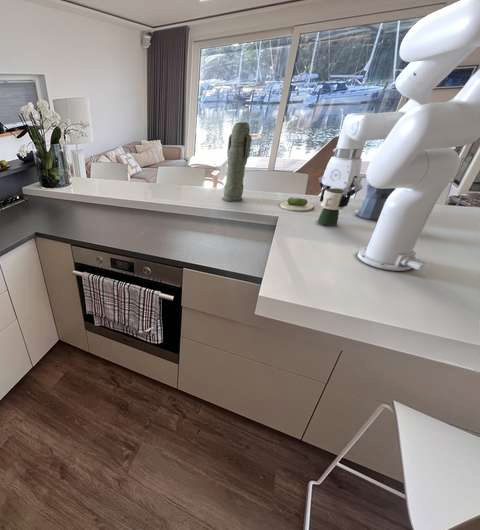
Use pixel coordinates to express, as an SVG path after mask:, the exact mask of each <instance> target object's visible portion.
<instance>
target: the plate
mask: <svg viewBox="0 0 480 530" xmlns="http://www.w3.org/2000/svg"><path fill="white" fill-rule="evenodd" d="M279 207H280V208H281V209H284V210H287V211H292V212H307V211H308V212H309V211H311V210H313V209H314V205H313V204H312V203H310V202H308V201H307V204H306V205H305V206H300V205H294V204H289V203H288V202H287V200H285V201H281V202H280V203H279Z"/></svg>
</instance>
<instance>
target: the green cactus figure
mask: <svg viewBox="0 0 480 530" xmlns="http://www.w3.org/2000/svg"><path fill="white" fill-rule="evenodd" d="M250 131H251V129H250V123H248V122H236V123H234V125H233V127H232V130H231V133H230V134H229V136H228V142H227V143H228V144H227V151H226V152H227V154H226V155H227V160H226V161H227V162H226V164H227V171H226V179H225V180H226V182H225V184H224V186H223V187H224V189H223V200H224V201H226V202H230V203H231V202H233V203H235V202H240V201H242V200H243V199H242V197H243V193H244V177H245V171H246V165H247V163H248V159H249V157H250V150H251V145H252V135H251V134H250Z"/></svg>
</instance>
